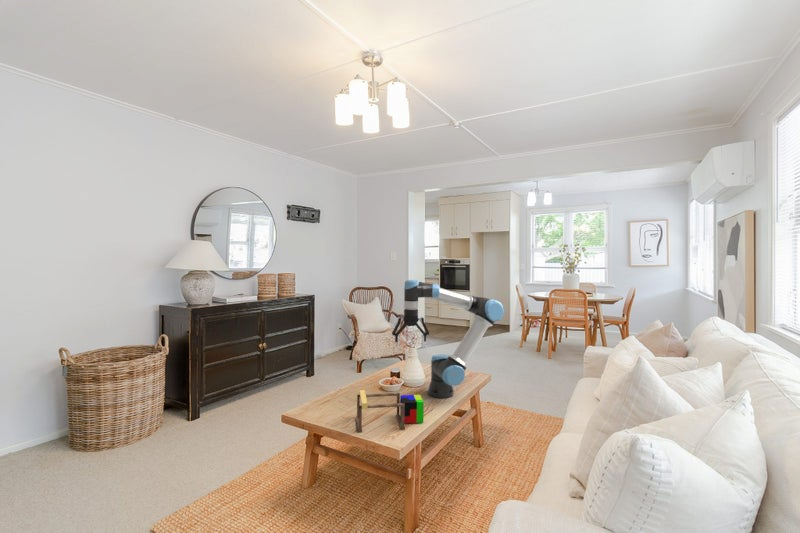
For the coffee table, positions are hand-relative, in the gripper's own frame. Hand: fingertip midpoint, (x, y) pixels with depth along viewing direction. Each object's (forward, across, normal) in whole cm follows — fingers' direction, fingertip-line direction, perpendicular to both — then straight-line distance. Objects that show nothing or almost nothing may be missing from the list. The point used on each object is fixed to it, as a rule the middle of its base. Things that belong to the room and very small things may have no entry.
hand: (410, 347), depth 206 cm
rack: (+32, +18, +20) cm, 42 cm away
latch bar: (+21, +27, +20) cm, 39 cm away
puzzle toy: (+31, +2, +17) cm, 36 cm away
